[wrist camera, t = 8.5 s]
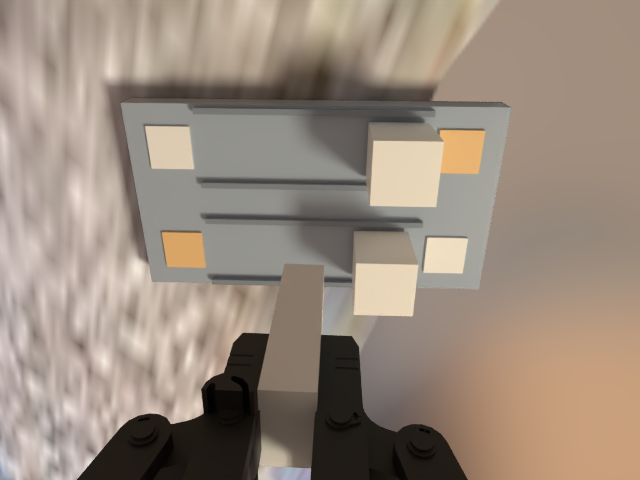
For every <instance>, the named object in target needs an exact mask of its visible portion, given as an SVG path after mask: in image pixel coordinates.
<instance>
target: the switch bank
mask: <svg viewBox="0 0 640 480" xmlns="http://www.w3.org/2000/svg"><path fill="white" fill-rule="evenodd" d="M121 109H122V114H123V120H124V126H125V131H126V137H127V143H128V148H129V154H130V160H131V165H132V171H133V176H134V182H135V188H136V193H137V199H138V205H139V210H140V216H141V222H142V227H143V233H144V238H145V244H146V250H147V255H148V261H149V267H150V272H151V278H152V282H192V283H212V284H227V285H270V286H280V282H281V277H282V273H283V268H284V264H311V265H324V287H352V264H353V239H354V231H392V232H408V233H409V236H410V239H411V243H412V246H413V249H414V252H415V255H416V259H417V262H418V273H417V282H416V288H449V289H479V283H480V278H481V272H482V267H483V262H484V256H485V251H486V245H487V239H488V234H489V228H490V223H491V218H492V212H493V207H494V201H495V195H496V190H497V184H498V179H499V173H500V167H501V162H502V157H503V151H504V146H505V139H506V135H507V129H508V124H509V118H510V113H511V107H510V106H508V105H506V104H504V103H503V102H447V101H446V102H445V101H443V102H442V101H362V100H277V99H191V98H131V99H128V100H126V101H123V102H121ZM368 122H408V123H430V125H431V126H432V127H433V128H434V130H435V131H436V132H437V133H438V135H439V136H440V137H441V138H442V140H443V141H444V148H443V156H442V164H441V172H440V180H439V188H438V196H437V205H436V207H397V206H370V204H369V197H368V191H367V185H366V162H367V142H368Z"/></svg>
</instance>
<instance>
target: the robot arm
mask: <svg viewBox="0 0 640 480" xmlns="http://www.w3.org/2000/svg"><path fill="white" fill-rule="evenodd" d="M323 294H324V265H311V264H284V268H283V273H282V277H281V282H280V287H279V291H278V296H277V301H276V305H275V310H274V315H273V319H272V324H271V329H270V333H269V334H260V333H242V334H241V335H240V337H239V338H238V339H237V340H236V341H235V342H234V343H233V346H232V349H231V352H230V356H229V358H228V362H227V366H226V368H225V371H224V373H222V374H219V375H217V376H214V377H212V378H211V379H210V380H208V381H207V382H206V383H205V384H204V386H203V388H202V389H201V391H202V400H203V408H204V414H203V415H201V416H199V417H197V418H195V419H192V420H189V421H185V422H180V423H176V424H170V422H169V421H168V419H167V418H166V417H163V416H161V415H159V414H145V415H140V416H137V417H135V418H133V419H131V420H129V421H128V422H127V423H125V424H124V425H123V426H122V427H121V428H120V429H119V430H118V431H117V433H116V434H115V435H114V436H113V437H112V439H111V440H110V441H109V442H108V443H107V445H106V446H105V447H104V448H103V449H102V450H101V452H100V453H99V454H98V455H97V456H96V458H95V459H94V460H93V461H92V462H91V464H90V465H89V466H88V467H87V468H86V470H85V471H84V472H83V473H82V474H81V476H80V477H79V478H78V479H77V480H258V467H259V462H260V460H261V466H276V467H297V468H311V480H468V479H467V478H466V476H465V474H464V472H463V470H462V469H461V467H460V465H459V463H458V461H457V459H456V458H455V456H454V454H453V452H452V450H451V448H450V446H449V445H448V443H447V441H446V440H445V439H444V437H443V436H442V435H441V434H440V433H439V432H437V431H436V430H434V429H433V428H431V427H428V426H425V425H422V424H420V425H418V424H412V425H408V426H405V427H403V428H402V429H401V430H399V431H398V432H394V431H391V430H388V429H385V428H383V427H380V426H378V425H377V424H375V423H374V422H372V421H371V420H370V419H369V418H368V417H367V415H366V413H365V412H364V409H363V404H362V390H361V373H360V357H359V346H358V345H357V343H356V342H355V340H354V339H353V337H352V336H334V335H322V325H323Z"/></svg>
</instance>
